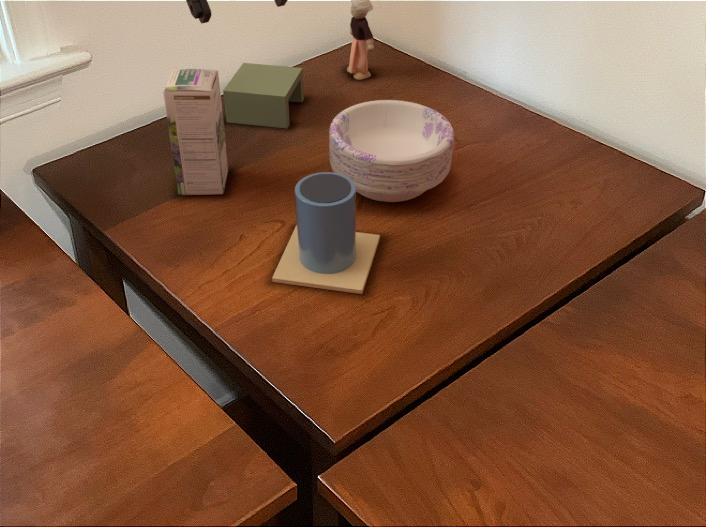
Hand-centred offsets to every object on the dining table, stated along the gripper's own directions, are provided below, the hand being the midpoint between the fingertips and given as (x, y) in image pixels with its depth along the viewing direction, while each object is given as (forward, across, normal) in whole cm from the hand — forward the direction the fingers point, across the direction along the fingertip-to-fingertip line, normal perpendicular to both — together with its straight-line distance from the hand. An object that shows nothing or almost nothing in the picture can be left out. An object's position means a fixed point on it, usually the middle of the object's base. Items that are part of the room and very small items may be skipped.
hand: (246, 11), depth 83 cm
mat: (+26, +2, +10) cm, 28 cm away
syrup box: (+11, -3, +25) cm, 28 cm away
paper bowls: (+19, +17, +16) cm, 31 cm away
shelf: (+1, +12, +34) cm, 36 cm away
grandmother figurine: (0, +30, +36) cm, 47 cm away
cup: (+26, +2, +9) cm, 27 cm away
